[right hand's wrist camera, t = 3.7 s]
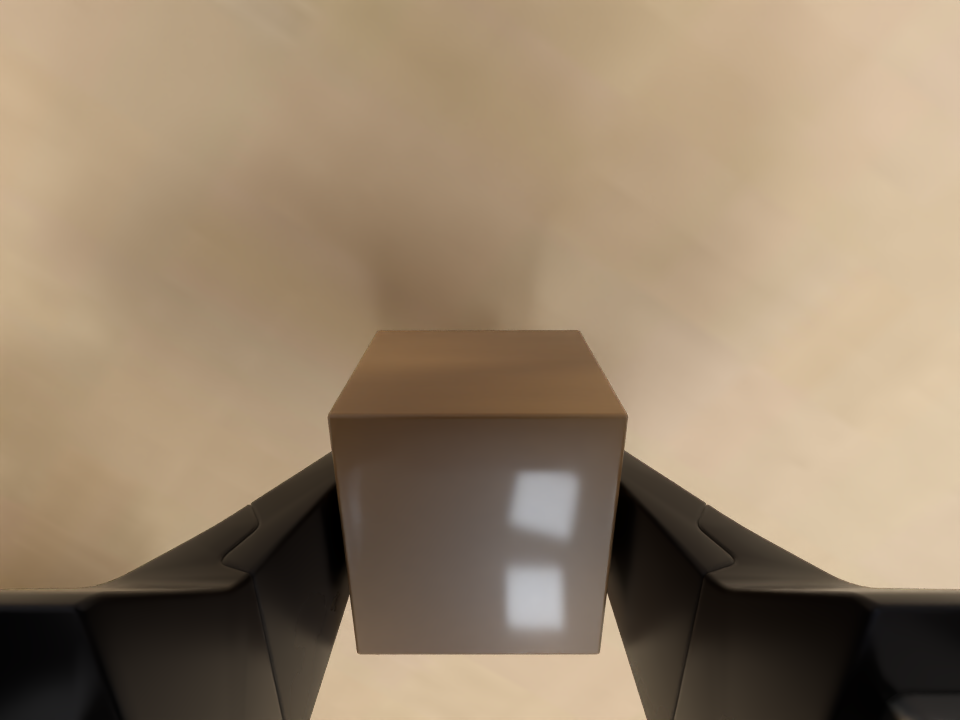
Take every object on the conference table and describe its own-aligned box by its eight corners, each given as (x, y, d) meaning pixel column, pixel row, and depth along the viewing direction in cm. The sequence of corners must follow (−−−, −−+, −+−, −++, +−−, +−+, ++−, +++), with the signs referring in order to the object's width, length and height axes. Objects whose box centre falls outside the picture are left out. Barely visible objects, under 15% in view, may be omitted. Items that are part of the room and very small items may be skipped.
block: (580, 329, 11) (630, 414, 8) (566, 514, 13) (600, 656, 9) (376, 329, 11) (325, 414, 8) (391, 513, 13) (355, 655, 9)
